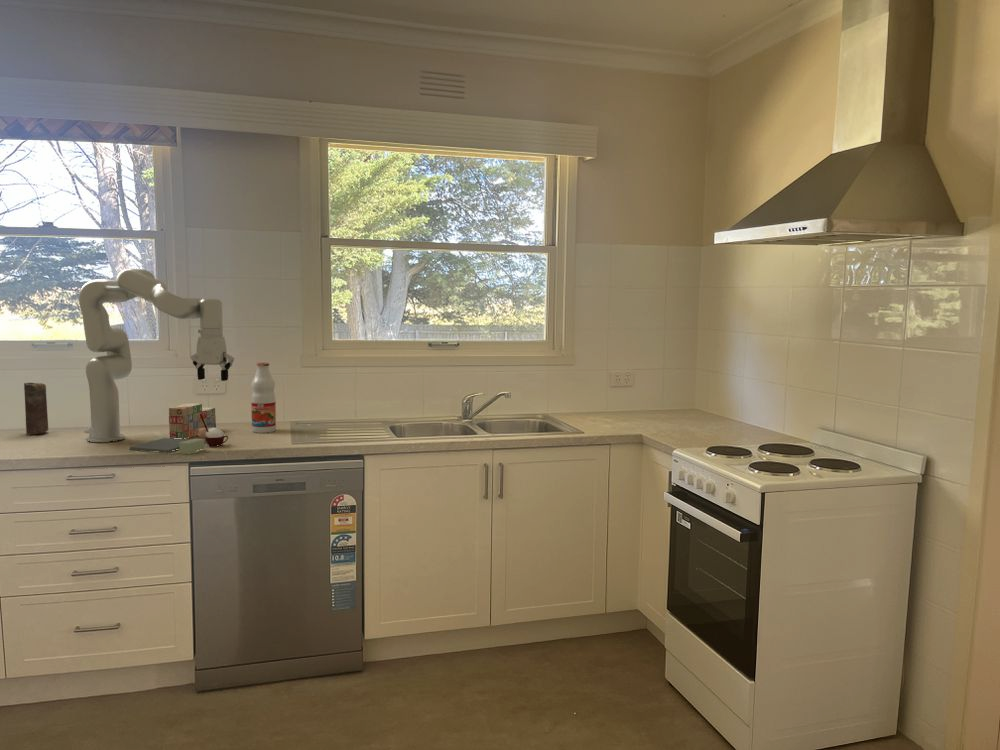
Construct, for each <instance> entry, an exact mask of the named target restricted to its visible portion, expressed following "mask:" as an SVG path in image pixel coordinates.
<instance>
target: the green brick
mask: <svg viewBox="0 0 1000 750" xmlns="http://www.w3.org/2000/svg"><path fill="white" fill-rule="evenodd" d="M205 443H206V442H205V440H204V439H199V438H196V437H195V438H192V439H191V438H190V439H187V441H183V442H179V449H180V450H179V454H185V455H191V454H194V453H197V452H196V451H197V450H200V449H204V448H205V447H206V446H205ZM205 449H206V448H205Z"/></svg>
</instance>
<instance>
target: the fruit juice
mask: <svg viewBox="0 0 1000 750" xmlns="http://www.w3.org/2000/svg"><path fill="white" fill-rule="evenodd" d="M269 367H270V363H269V362H257V363H256V371H255V375H254V377H253V379H252V380H251V383H250V384H251V385H250V386H251V390H252V394H251V395H250V396H251V400H250V401H251V402H250V404H251V406H250V407H251V431H252V432H253V433H256V432H257V433H258V434H268V433H267V432H269V433H272V432H273V433H274V432H275V431H276V429H277V421H276V420H277V418H276V417H277V413H276V412H277V411H276V403H277V401H276V394H275V388H276V384H275V380H274V379H273V376H272V374H271V372H270V369H269Z"/></svg>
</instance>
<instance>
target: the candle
mask: <svg viewBox="0 0 1000 750" xmlns="http://www.w3.org/2000/svg"><path fill="white" fill-rule="evenodd" d="M23 390H24V391H23V393H24V408H25V409H24V411H25V433H26V435H27V436H34V435H37V434H38V435H40V434H44V433H47V432H48V431H49V417H48V404H47V403H48V401H47V385H46V384H45V383H42V382H40V383H39V382H36V383H35V382H24V384H23Z"/></svg>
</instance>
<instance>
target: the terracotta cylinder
mask: <svg viewBox="0 0 1000 750" xmlns="http://www.w3.org/2000/svg"><path fill="white" fill-rule="evenodd" d="M210 428H212V427H207V429H210ZM206 432H207V430H206V428H205V427H201V428H198V434H199V435H198V439H204V440H205V441H206V435H205V434H206Z"/></svg>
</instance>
